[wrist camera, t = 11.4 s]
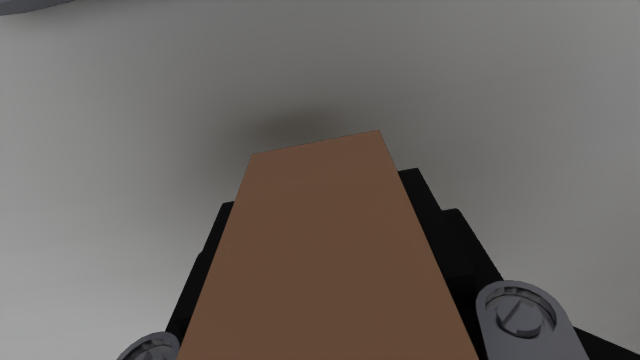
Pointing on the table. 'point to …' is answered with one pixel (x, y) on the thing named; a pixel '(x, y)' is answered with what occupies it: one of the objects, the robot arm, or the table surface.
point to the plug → (325, 265)
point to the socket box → (26, 5)
